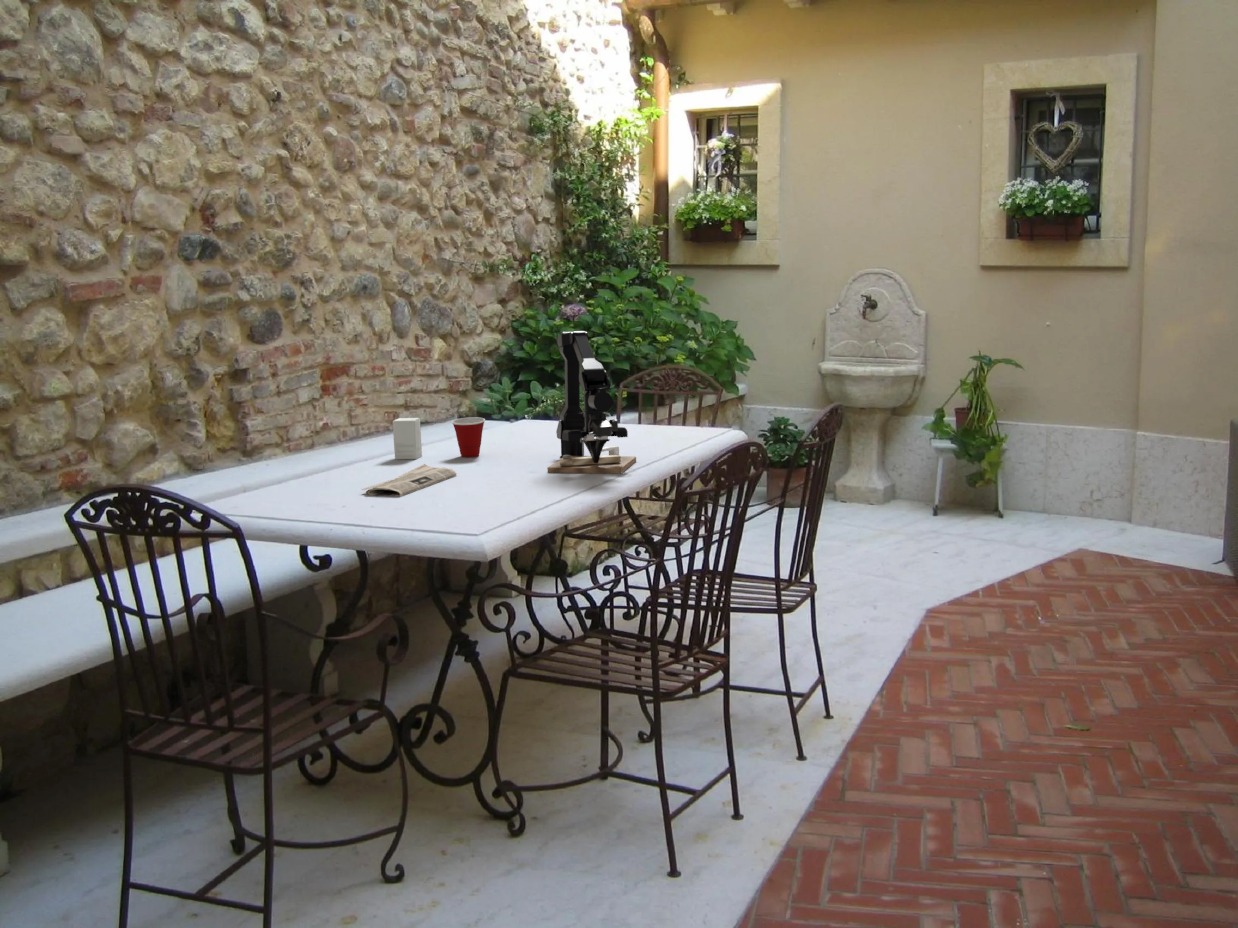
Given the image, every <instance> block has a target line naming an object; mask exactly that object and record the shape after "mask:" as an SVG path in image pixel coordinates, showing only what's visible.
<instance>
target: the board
mask: <svg viewBox="0 0 1238 928" xmlns="http://www.w3.org/2000/svg"><path fill="white" fill-rule="evenodd" d="M575 457H591V455H584V456H570V458H575ZM636 462H637V456H623V455H622V456H621V462H618V463H602V464H585V465H571V466H561V465H560V459H559V460H558V461H556V462H554V463H551V465H549V466H547V473H549V474H550V473H553V474H559V473H561V474H623V472H625V471H626V470H627V469H629V468H630V467H631V466H632V465H634V464H636Z"/></svg>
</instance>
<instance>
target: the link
mask: <svg viewBox="0 0 1238 928" xmlns="http://www.w3.org/2000/svg"><path fill="white" fill-rule="evenodd" d="M559 460H560V465H561V466H571V465H585V464H602V463H618V462H621V456H620V454H619V455H609V454H608V455H600V457H599V461H598V463H594V461H593V459H592V457H575V458H570V455H563V458H559Z"/></svg>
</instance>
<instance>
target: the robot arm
mask: <svg viewBox="0 0 1238 928" xmlns="http://www.w3.org/2000/svg"><path fill="white" fill-rule="evenodd" d="M557 346H558V348H559V349H558V350H559V353H560V355H561V356H562V358H563V359H564V400H565V402H564V407H563V409H562V410H561V412H560V415H559V416H560V417H559V420H558V423H557V428H556V433H555V434H556V438H557V439H559V440H560V452H561V453H560V456H559V459H561V458H563V455H570V456H585V448H587V450H588V453H589V454H590V455H589V456H591V457H592V459H593V461H594V463H598V461H599V457H600V456H601V453H602V452H601V451H602V448H604V447H605V444H607V442H610V440H611V439H610V438H609V437H617V438H628V437H629V436H628V435H629V434H628V429H627V427H625V426H624V427H623V426H619V424H618V422H619V421H618V419H617V418H611V419H609V420H607V415H606V413H605V412H607V411H610V410H611V409H612V407H613V403H614V400H613V397H612V395H611V394H610V393H608V392H607V391H610V390H611V385H612V384H611V381H610V378H609V375H608V373H607V370H605V368H604V366H603V364H602V363H601V362H599V361H598V360H596V358H595V354H594V352H593V350H592V348H591V344H590V342H589V335H588V332H587V331H585V330H575V331H574V330H573V331H562V332H561V333H560V334H559V335H558V336H557ZM580 386H581V387H580ZM580 388H581V389H582V391H583V404H584V407H583V408H584V411H583V410H582V408H581V404H580V402H581V398H580V397H581V396H580V394H581V391H580Z"/></svg>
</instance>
